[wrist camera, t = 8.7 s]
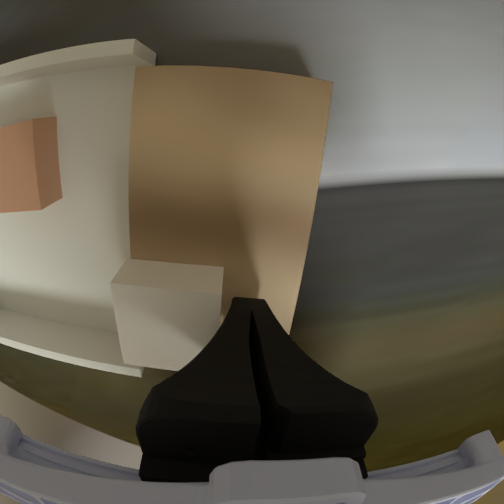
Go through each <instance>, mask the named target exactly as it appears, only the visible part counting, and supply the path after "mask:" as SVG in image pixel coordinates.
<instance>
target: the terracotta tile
mask: <svg viewBox="0 0 504 504" xmlns="http://www.w3.org/2000/svg"><path fill="white" fill-rule="evenodd" d="M61 198H63V196H62V188H61V179H60V169H59V156H58V141H57V117H46V118H36V119H30V120H26V121H23V122H19V123H15V124H12V125H8V126H5V127H1V128H0V213H8V212H21V211H35V210H42V209H44V208H46V207H47V206H49V205H51V204H52V203H54V202H56V201H58V200H60V199H61Z"/></svg>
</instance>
